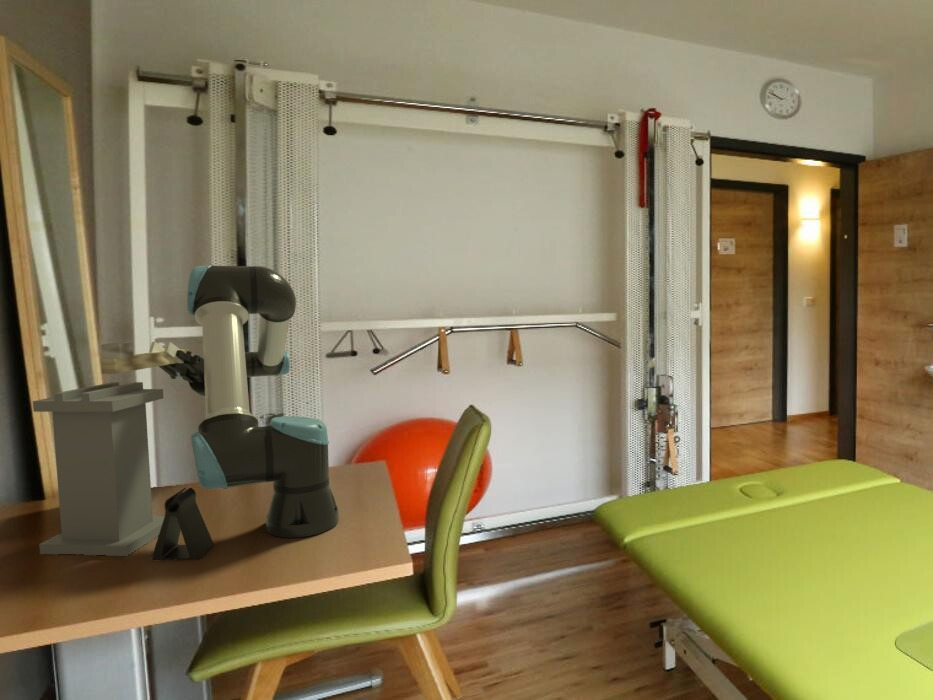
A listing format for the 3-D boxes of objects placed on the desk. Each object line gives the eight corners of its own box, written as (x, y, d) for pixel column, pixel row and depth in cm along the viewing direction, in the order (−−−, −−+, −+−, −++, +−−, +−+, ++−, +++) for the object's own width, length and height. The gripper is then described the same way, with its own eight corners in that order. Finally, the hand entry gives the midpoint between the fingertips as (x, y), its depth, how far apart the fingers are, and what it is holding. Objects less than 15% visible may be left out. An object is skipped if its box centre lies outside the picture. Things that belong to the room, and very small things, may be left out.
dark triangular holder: (214, 546, 109) (210, 487, 108) (199, 560, 103) (196, 497, 102) (168, 546, 109) (165, 487, 108) (151, 560, 103) (147, 498, 102)
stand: (98, 523, 121) (88, 382, 119) (175, 525, 120) (167, 382, 117) (40, 554, 106) (27, 393, 104) (127, 556, 105) (116, 393, 102)
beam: (176, 360, 139) (175, 337, 138) (191, 360, 138) (190, 336, 138) (99, 373, 113) (97, 344, 112) (117, 373, 112) (115, 344, 112)
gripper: (234, 396, 148) (188, 361, 127) (178, 396, 149) (122, 361, 128) (240, 371, 151) (195, 332, 130) (184, 371, 152) (131, 332, 131)
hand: (159, 346), depth 129 cm, fingers closed on beam, 3 cm apart
